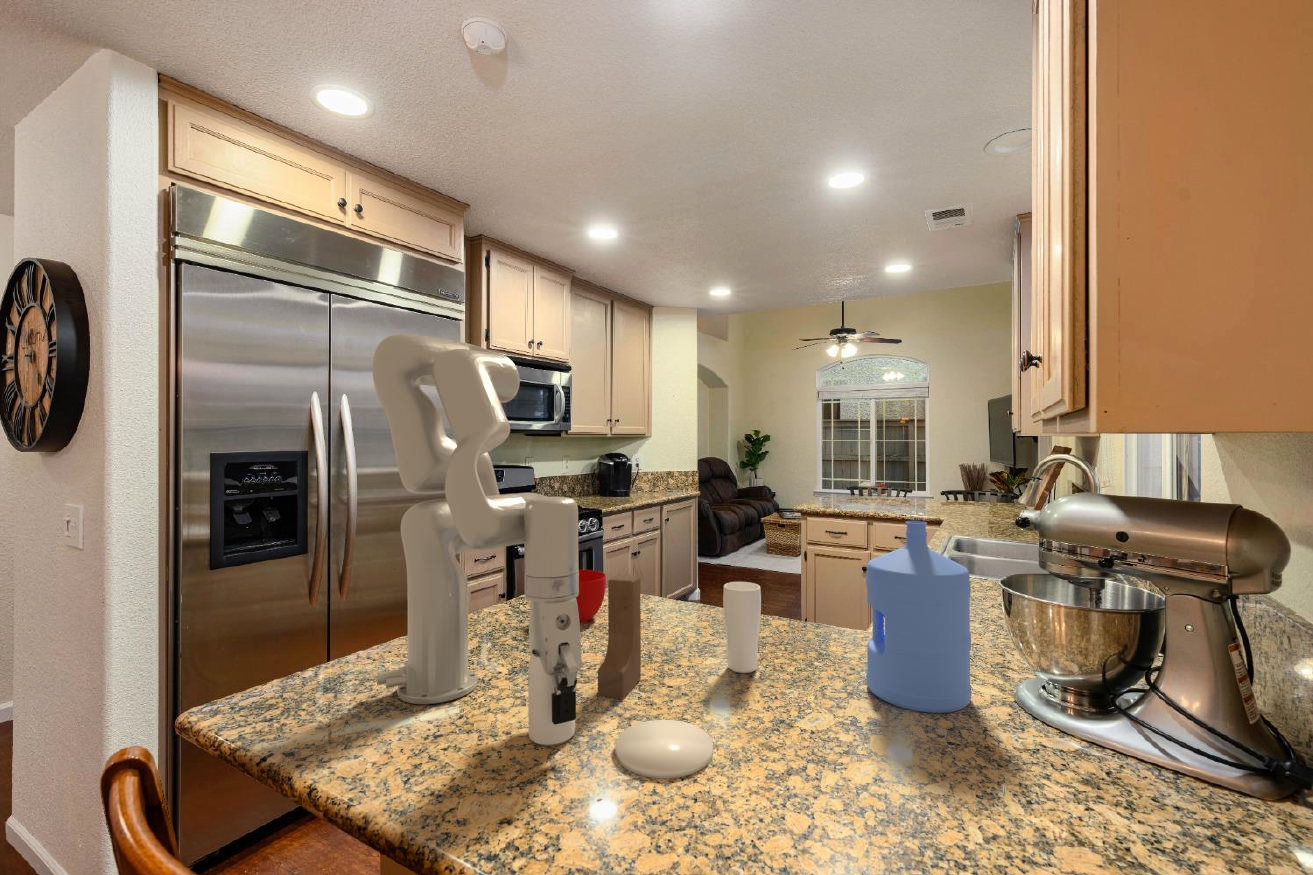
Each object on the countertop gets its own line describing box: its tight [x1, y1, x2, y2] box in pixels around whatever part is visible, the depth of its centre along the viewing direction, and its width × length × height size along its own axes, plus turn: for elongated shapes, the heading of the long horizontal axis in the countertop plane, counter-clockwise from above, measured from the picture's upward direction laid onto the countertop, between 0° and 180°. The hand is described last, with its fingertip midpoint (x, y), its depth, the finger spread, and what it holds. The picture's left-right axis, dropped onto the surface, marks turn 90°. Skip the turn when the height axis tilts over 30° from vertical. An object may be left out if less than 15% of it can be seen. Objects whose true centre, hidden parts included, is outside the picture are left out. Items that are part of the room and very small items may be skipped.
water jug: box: [865, 520, 972, 714], centre depth 96 cm, size 16×16×28 cm
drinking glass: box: [722, 581, 762, 674], centre depth 106 cm, size 7×7×15 cm
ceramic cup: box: [575, 569, 607, 623], centre depth 135 cm, size 13×17×10 cm
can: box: [527, 650, 576, 747], centre depth 82 cm, size 6×6×12 cm
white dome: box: [615, 719, 714, 779], centre depth 78 cm, size 13×13×1 cm
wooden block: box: [597, 573, 642, 700], centre depth 98 cm, size 9×4×18 cm, turn 162°
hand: (552, 706), depth 82 cm, fingers open, 9 cm apart
